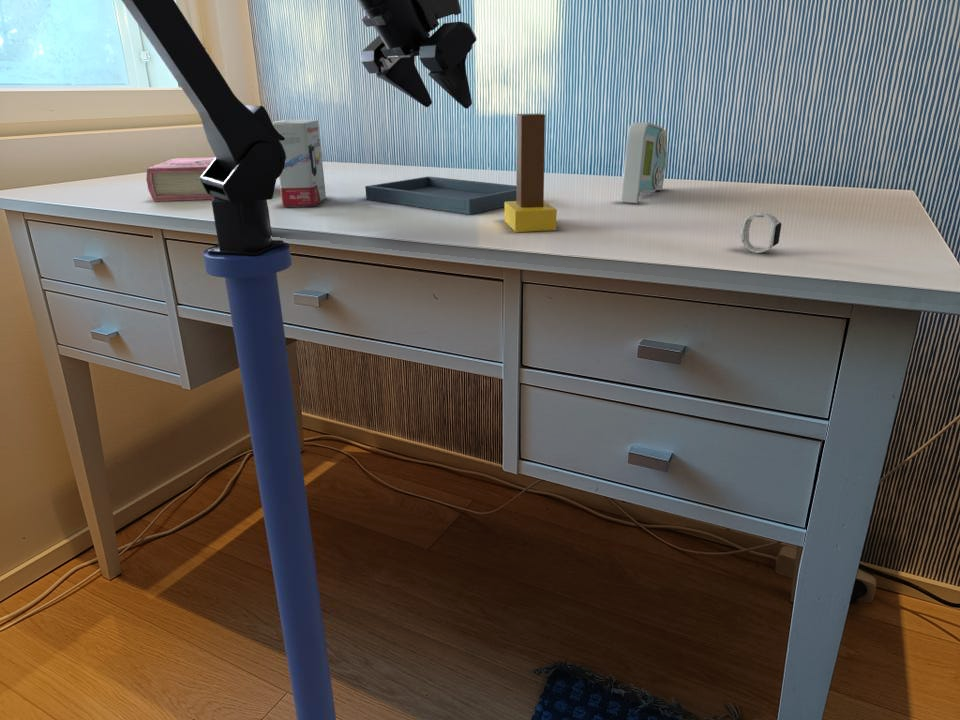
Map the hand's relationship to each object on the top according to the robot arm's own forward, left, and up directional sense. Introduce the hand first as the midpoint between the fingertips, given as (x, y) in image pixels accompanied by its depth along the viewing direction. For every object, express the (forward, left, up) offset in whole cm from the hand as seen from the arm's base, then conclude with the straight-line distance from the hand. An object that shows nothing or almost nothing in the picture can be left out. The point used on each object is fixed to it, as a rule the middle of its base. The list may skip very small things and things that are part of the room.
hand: (448, 105), depth 92 cm
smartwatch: (-20, -38, -14) cm, 45 cm away
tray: (+7, +3, -14) cm, 16 cm away
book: (+9, +45, -14) cm, 48 cm away
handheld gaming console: (+15, -26, -14) cm, 33 cm away
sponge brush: (-10, -13, -14) cm, 21 cm away
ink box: (+2, +24, -14) cm, 27 cm away
